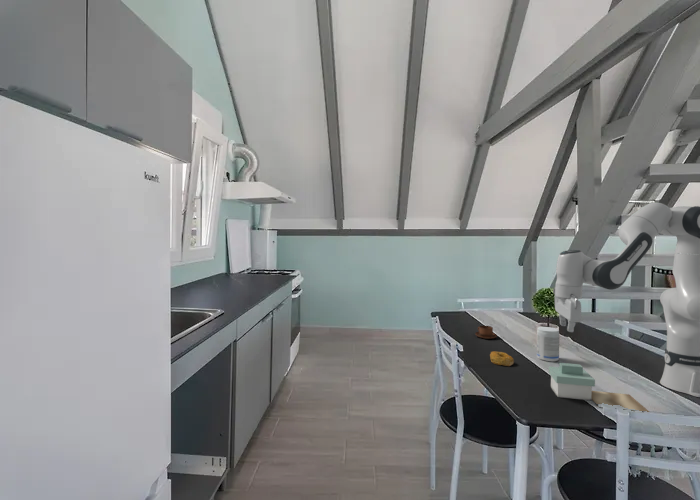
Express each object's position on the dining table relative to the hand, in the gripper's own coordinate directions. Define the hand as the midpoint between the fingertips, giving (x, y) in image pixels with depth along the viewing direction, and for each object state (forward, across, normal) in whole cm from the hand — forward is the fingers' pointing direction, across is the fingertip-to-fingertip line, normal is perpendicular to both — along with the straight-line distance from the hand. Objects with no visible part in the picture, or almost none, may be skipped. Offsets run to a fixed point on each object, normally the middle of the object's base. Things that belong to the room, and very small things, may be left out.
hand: (566, 328), depth 139 cm
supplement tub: (+24, +39, -3) cm, 46 cm away
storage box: (+24, -2, -2) cm, 24 cm away
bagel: (+25, +27, +19) cm, 42 cm away
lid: (+19, -2, -2) cm, 19 cm away
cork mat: (+24, -4, -16) cm, 29 cm away
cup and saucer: (+25, +71, +22) cm, 78 cm away
